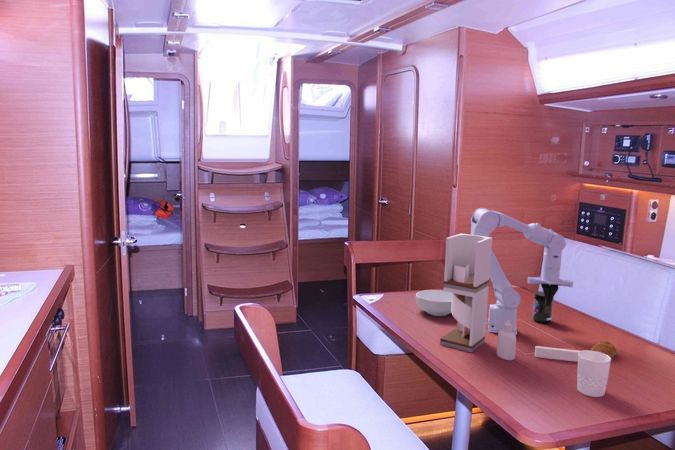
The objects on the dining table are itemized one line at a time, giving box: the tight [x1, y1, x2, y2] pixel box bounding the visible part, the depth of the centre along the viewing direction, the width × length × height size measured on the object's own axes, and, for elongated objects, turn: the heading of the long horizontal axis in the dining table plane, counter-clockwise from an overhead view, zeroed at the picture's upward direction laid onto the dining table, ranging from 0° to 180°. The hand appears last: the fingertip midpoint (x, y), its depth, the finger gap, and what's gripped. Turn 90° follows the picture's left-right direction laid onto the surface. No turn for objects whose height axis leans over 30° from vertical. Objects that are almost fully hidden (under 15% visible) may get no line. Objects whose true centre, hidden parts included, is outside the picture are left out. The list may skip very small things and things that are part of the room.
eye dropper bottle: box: [496, 320, 517, 361], centre depth 165 cm, size 4×6×12 cm
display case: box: [439, 233, 493, 353], centre depth 174 cm, size 11×11×35 cm
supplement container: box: [531, 290, 555, 325], centre depth 200 cm, size 7×7×10 cm
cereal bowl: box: [415, 289, 452, 317], centre depth 207 cm, size 17×17×7 cm
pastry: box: [590, 341, 618, 359], centre depth 170 cm, size 9×7×4 cm
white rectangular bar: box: [534, 345, 581, 363], centre depth 166 cm, size 14×2×3 cm, turn 76°
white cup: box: [576, 349, 612, 398], centre depth 144 cm, size 8×8×10 cm
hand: (547, 305), depth 189 cm, fingers closed
